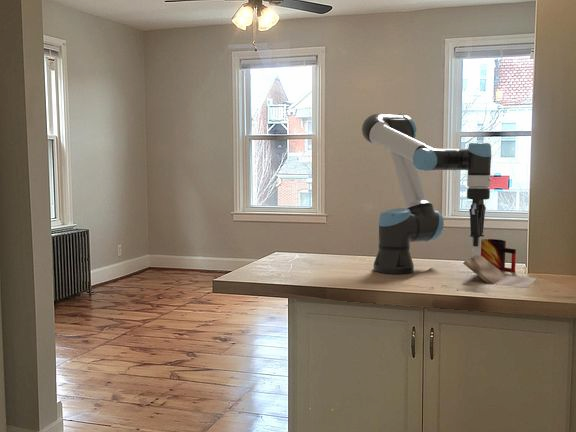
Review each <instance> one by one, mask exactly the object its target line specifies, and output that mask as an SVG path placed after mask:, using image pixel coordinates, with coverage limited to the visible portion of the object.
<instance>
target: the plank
mask: <svg viewBox="0 0 576 432" xmlns="http://www.w3.org/2000/svg"><path fill="white" fill-rule="evenodd" d="M462 264H463V265H465V266H466V267H467V268H468V269H469V270H471V272H472V273H474V274H476V276H478V277H479V278H481V279H482V281H484V282H485V283H487V284H489V285H496V283H497V282H499V281H500V280H501V279H503V278H504V277H505V276H507V275H506V274H505V273H504V271H502V270H499V269H497V268H496V267H495V266H494V265H492V264H491V263H490V262H489V261H487V260H486V259H485V258H483V257H482V256H474V255H472V257H470V258H467V259H466V260H464V262H463V263H462Z"/></svg>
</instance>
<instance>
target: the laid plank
mask: <svg viewBox="0 0 576 432" xmlns="http://www.w3.org/2000/svg"><path fill="white" fill-rule="evenodd" d="M536 280H537V278H536V277H529V276H528V277H527V276H526V277H525V276H517V275H516V276H515V275H508V274H507V275H506V276H505V277H503V278H502V279H501V280H499V281H498V282H497V283H495V285H497V286H498V285H499V286H509V287H516V288H527V289H528V288H529V287H530V286H531V285H532V284H533V283H534V282H535V281H536Z"/></svg>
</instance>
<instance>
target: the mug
mask: <svg viewBox="0 0 576 432" xmlns="http://www.w3.org/2000/svg"><path fill="white" fill-rule="evenodd" d="M506 245H507V243H506V240H503V239H495V238H481V256H482V257H483V258H485V259H486V260H487V261H489V262H490V263H491V264H492V265H494V266H495V267H496V268H497V269H499V270H500V271H502V272H508V273H509V272H510V273H516V255H517V254H516V252H517V249H515V248H509V247H507V246H506ZM507 253H508V254H511V261H510V263H511V265H510V267H506V254H507Z"/></svg>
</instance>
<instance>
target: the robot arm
mask: <svg viewBox="0 0 576 432" xmlns="http://www.w3.org/2000/svg"><path fill="white" fill-rule="evenodd" d="M416 126H417V125H416V123H415V121H414V120H413V118H412V117H410V116H409V115H405V114H401V113H398V114H389V113H387V114H386V113H374V114H371V115H369V116H367V118H366V119H365V120H364V121H363V123H362V127H361V132H362V136H363V137H364V139H365V140H366V141H367V142H369V143H370V144H372V145H375V146H382V147H384V148H385V150H386V152H388V153H390V155H391V158H392V163H393V166H394V169H395V172H396V177H397V180H398V184H399V187H400V191H401V195H402V198H403V201H404V208H402V207H401V208H400V207H399V208H390V209H385V210H383V211H381V213H379V218H378V219H379V220H378V250H377V253H376V256H375V259H374V262H373V271H375V272H377V273H382V274H387V275H388V274H389V275H403V274H404V275H405V274H410V273H414V271H415V270H414V269H415V264H414V261H413V259H412V255H411V252H410V245H411V243H414V242H416V243H417V242H418V243H419V242H429V241H435V240H437V239H438V238H439V237H441V235H442V232H443V231H444V225H445V224H444V223H445V222H444V217H443V215H442V214H441V212H439V211H438V210H435V209H434V206H433V202H430V201H428V200H427V196H426V193H425V189H424V186H423V182H422V179H421V176H420V171H426V172H427V171H428V172H429V171H467V180H466V186H467V187H468V188H467V189H466V199H467V200H472V201H471V205H470V208H469V219H470V222H469V223H470V227H469V228H470V235H469V238H470V237H471V238H472V239H471V240H472V241H471V256H481V239H482V237H483V238H484V236H485V234H484V224H485V214H486V210H487V208H486V205H485V203H484V200H485V201H486V200H489V199H490V197H491V196H490V194H491V191H490V186H491V182H492V180H493V179H492V177H491V167H492V165H491V164H492V145H491V143H489V142H470V143H469V144H468V148H434V147H432V146H430V145H427V144H426V143H424V142H421V141H420V140H417V139H416V136H417V134H416V133H417V127H416ZM419 170H420V171H419Z"/></svg>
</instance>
